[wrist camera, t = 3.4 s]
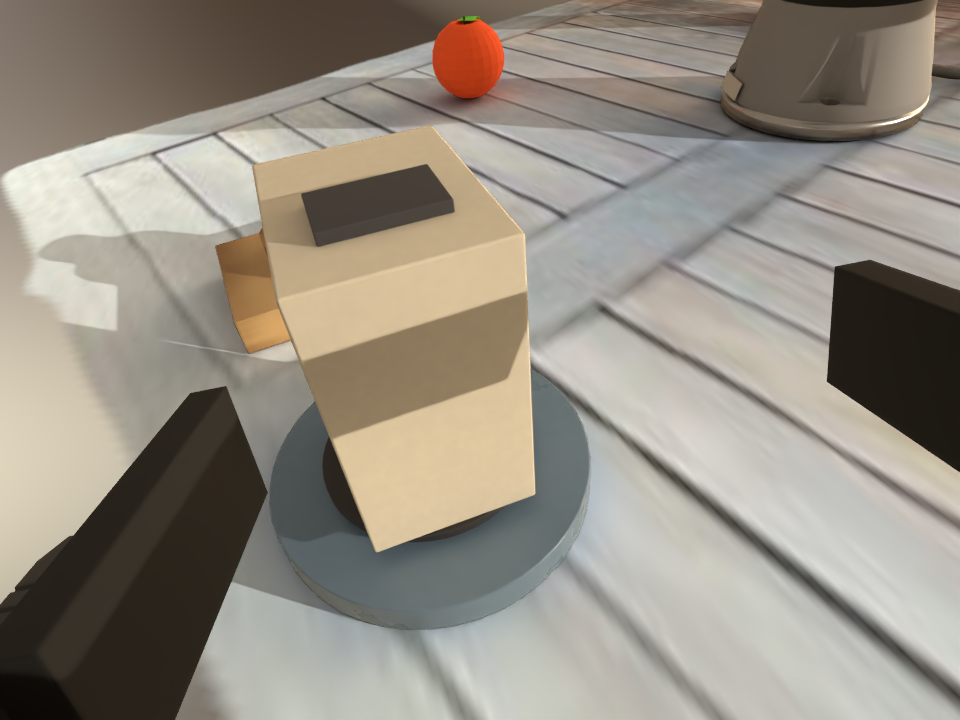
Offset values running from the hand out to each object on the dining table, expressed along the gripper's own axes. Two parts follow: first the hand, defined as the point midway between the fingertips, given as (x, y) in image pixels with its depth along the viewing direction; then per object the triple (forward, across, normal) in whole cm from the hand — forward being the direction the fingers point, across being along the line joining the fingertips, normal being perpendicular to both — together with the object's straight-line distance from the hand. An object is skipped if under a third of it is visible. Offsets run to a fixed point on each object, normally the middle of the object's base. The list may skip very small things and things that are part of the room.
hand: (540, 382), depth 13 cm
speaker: (+9, -4, -7) cm, 12 cm away
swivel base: (+10, -4, -8) cm, 14 cm away
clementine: (+54, +4, +6) cm, 54 cm away
